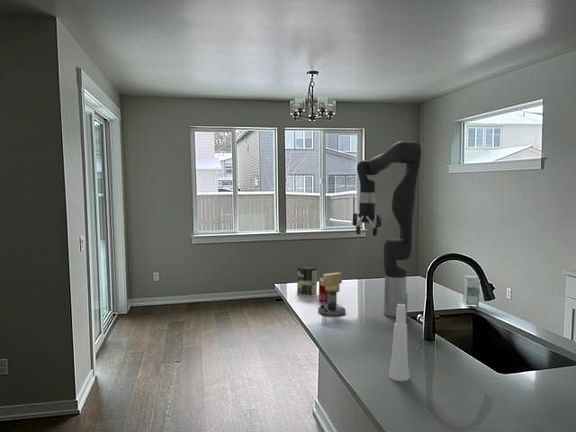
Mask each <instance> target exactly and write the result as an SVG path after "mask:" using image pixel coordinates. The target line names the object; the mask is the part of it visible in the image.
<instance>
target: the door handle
mask: <svg viewBox="0 0 576 432" xmlns="http://www.w3.org/2000/svg"><path fill="white" fill-rule="evenodd" d="M342 275H343V273H342V272H340V271H339V272H332V273H324V274H322V278H323V280H321V281H320V285H322V286H325V291H326V292H337V293H338V292H340V284H342V283H343V281H342V280H343V276H342Z"/></svg>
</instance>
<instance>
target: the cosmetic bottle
mask: <svg viewBox="0 0 576 432" xmlns="http://www.w3.org/2000/svg"><path fill="white" fill-rule="evenodd" d="M397 306H398V307H397V308H396V317H395V323H394V326H393V335H392V348H391V350H392V351H391V360H390V367H389V372H388V377H389V379H391V380H392V381H396V382H407V381H409V380H410V372H409V361H408V359H409V358H408V356H409V355H408V324H407V322H406V320H407V315H406V308H405V305H404V304H397Z"/></svg>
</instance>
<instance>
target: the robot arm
mask: <svg viewBox="0 0 576 432" xmlns="http://www.w3.org/2000/svg"><path fill="white" fill-rule="evenodd" d="M421 158H422V147H421V144H420V143H419V142H418V141H411V140H409V141H408V140H407V141H406V140H404V141H403V140H399V141H397V142H396V143H395V142H394V143H393V144H392V146H390V147H389V148H388V149H387V150H385V151H383V153H381V154H378V155H376V156H373V157H372V158H371V159H370V160H365V159H364V160H360V161H359V162H358V163H357V165H356V172H357V175H358V180H359V185H360V187H359V191H360V192H359V197H358V199H359V200H358V201H359V204H358V205H359V207H358V211H359V212H358V213H357V212H354V213H353V214H352V226H355V234H356V235H359V236H360V235H361V225H362V224H364V223H367V224H370V225H371V226H372V236H373V237H376V236H377V235H378V228H381V227H382V215H381V214H375V212H376V194H375V193H376V182H375V181H374V180H371V179H369V177H368V176H376V175H378V174H379V173H380V172H381V171H384V170H386V169H388V168H389V167H390V166H391V164H394V163H395V164H397V163H398V164H405V165H406V166H405V172H404V174H403V177H402V178H401V180H400V181H399V183H398V184H397V186H396V187H395V189H394V191H393V194H392V200H391V201H392V203H391V210H392V213H393V216H394V217H395V220H396V222H397V224H398V226H399V238H394V239H393V238H392V239H391V238H389V239H387V240H385V242H384V244H383V245H384V246H383V269H384V290H383V292H384V293H383V294H384V295H383V299H384V300H383V314H384V315H385V316H388V317H392V318H396V308H397V307H398V306H397V304H404V305H405V308H406V316H407V315H408V299H409V298H408V297H409V295H408V293H407V277H408V276H407V275H408V274H407V273H408V272H407V269H405V268H403V267H401V266H400V267H399V266H398V263H397V261H407V260H408V259H410V257H411V254H412V250H413V247H412V246H413V238H412V237H413V235H412V234H413V220H414V219H413V218H414V217H413V216H414V211H415V210H414V209H415V199H416V188H417V179H418V175H419V174H418V173H419V169H420V164H421ZM358 218H359V219H358Z"/></svg>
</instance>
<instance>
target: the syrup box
mask: <svg viewBox="0 0 576 432" xmlns="http://www.w3.org/2000/svg"><path fill="white" fill-rule="evenodd" d="M478 276H479V275H477V274H464V276H463V277H464V279H463V296H462V297H463V298H462V304H463V303H465V304H466V305H476V306H479V303H480V288H481V287H480V285H481V281H480V282H479V279H478Z"/></svg>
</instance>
